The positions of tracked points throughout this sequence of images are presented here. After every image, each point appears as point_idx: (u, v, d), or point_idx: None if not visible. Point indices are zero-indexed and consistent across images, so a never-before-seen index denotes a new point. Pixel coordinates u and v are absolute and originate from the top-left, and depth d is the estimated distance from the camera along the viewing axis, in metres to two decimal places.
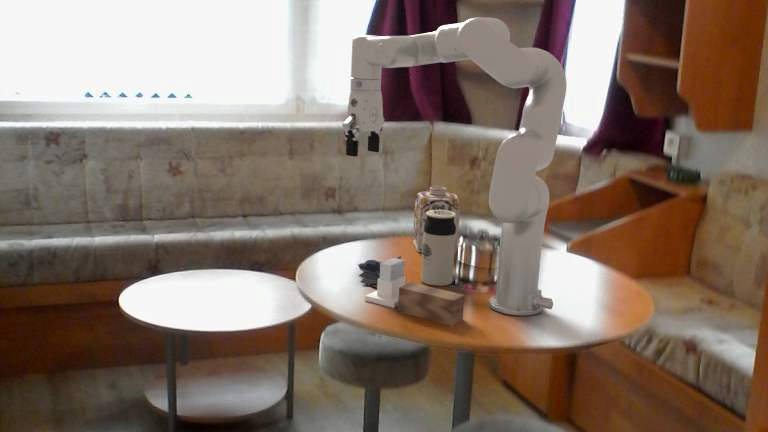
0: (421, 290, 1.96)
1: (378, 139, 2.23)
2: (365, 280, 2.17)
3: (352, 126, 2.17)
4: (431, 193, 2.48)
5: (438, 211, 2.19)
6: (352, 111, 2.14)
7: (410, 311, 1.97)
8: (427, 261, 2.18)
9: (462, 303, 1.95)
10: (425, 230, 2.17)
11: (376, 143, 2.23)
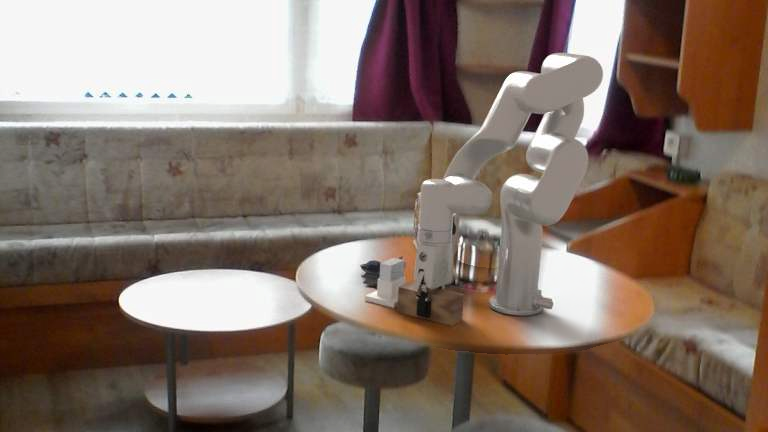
0: None
1: None
2: (368, 281, 2.17)
3: None
4: None
5: None
6: (420, 266, 1.90)
7: (409, 311, 1.97)
8: None
9: (462, 302, 1.94)
10: None
11: None
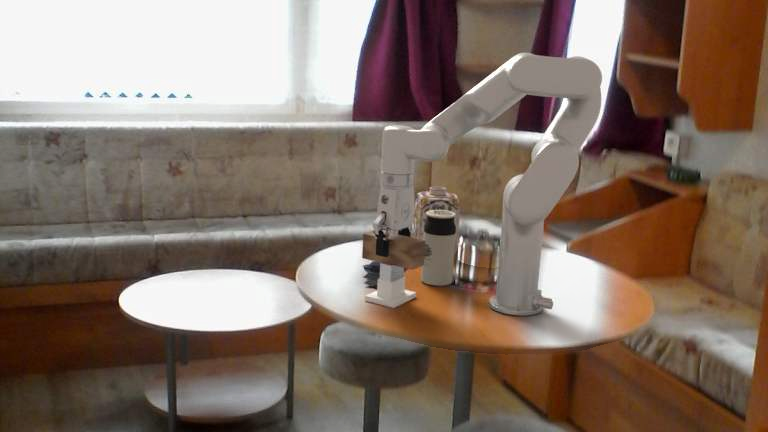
0: None
1: (409, 235, 2.07)
2: (369, 281, 2.16)
3: (382, 224, 2.00)
4: (431, 193, 2.48)
5: (438, 211, 2.19)
6: (382, 208, 1.98)
7: (373, 256, 2.05)
8: (427, 261, 2.18)
9: (423, 248, 2.02)
10: (425, 230, 2.17)
11: None
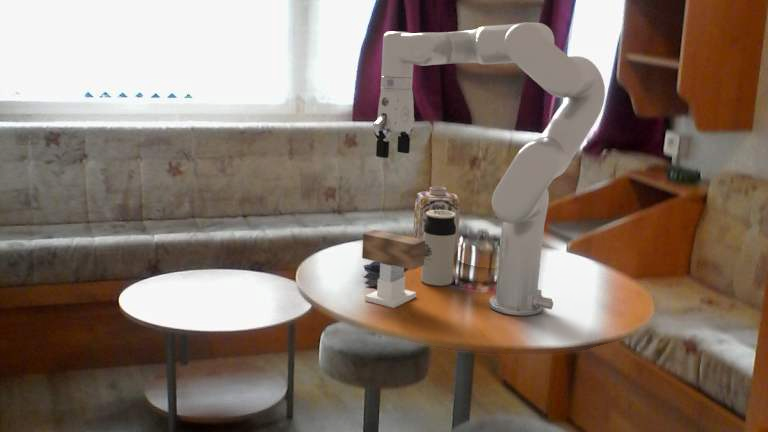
0: (384, 236, 2.04)
1: (408, 140, 2.15)
2: (369, 281, 2.16)
3: (382, 126, 2.09)
4: (431, 193, 2.48)
5: (438, 211, 2.19)
6: (382, 110, 2.06)
7: (373, 256, 2.05)
8: (427, 261, 2.18)
9: (423, 248, 2.02)
10: (425, 230, 2.17)
11: (406, 144, 2.16)
